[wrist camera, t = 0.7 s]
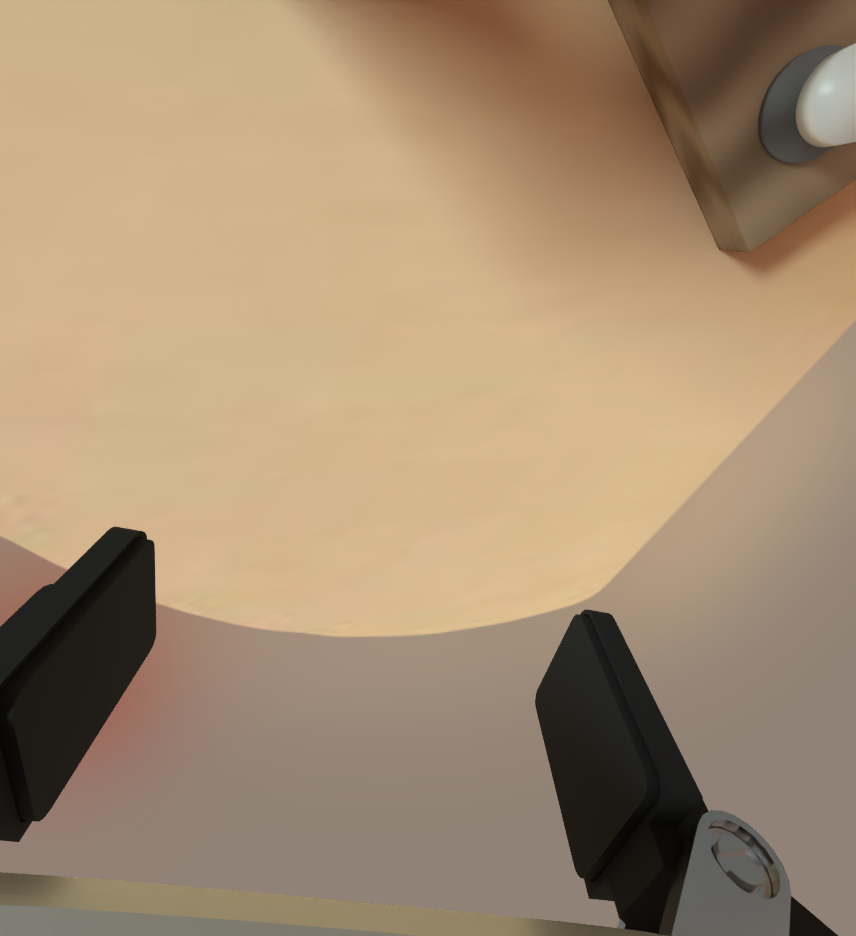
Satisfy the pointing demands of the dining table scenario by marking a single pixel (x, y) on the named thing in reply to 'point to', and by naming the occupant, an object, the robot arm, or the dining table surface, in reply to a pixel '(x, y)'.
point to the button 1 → (829, 101)
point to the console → (742, 104)
